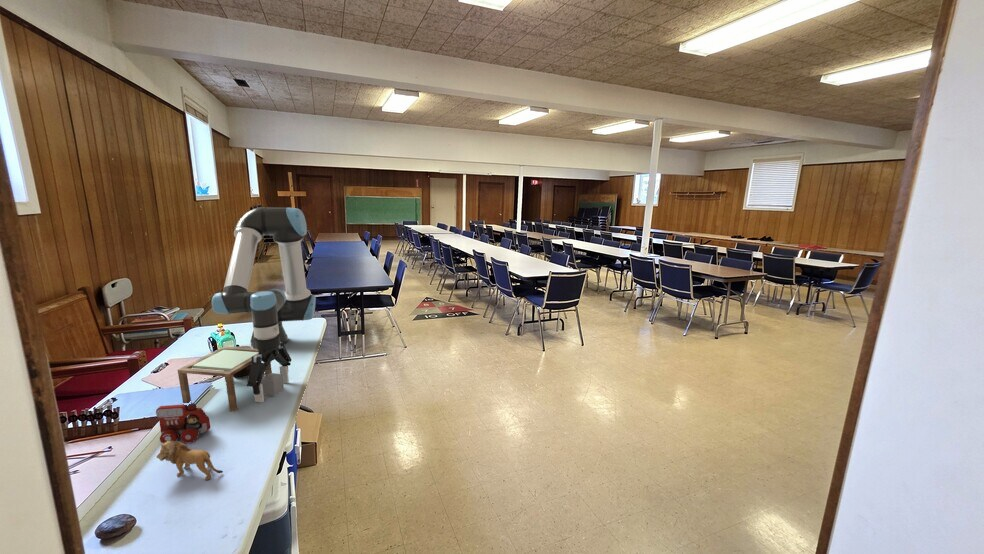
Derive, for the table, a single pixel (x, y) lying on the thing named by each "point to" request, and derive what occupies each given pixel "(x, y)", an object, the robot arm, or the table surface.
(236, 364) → the hatch
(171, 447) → the lion figurine
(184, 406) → the toy fire truck
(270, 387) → the cube
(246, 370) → the coffee mug
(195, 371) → the frame
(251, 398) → the table surface
